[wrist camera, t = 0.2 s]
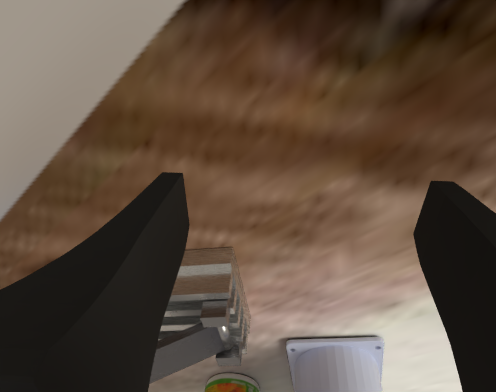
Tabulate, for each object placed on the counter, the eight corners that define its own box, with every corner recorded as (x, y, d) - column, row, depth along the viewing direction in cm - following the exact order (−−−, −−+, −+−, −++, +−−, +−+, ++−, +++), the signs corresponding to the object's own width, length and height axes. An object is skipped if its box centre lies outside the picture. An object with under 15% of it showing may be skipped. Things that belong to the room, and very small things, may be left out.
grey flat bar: (220, 307, 26) (225, 317, 25) (232, 342, 28) (236, 352, 28) (51, 378, 24) (50, 392, 23) (79, 409, 26) (79, 422, 25)
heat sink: (232, 247, 27) (224, 304, 24) (250, 317, 32) (246, 374, 28) (60, 258, 29) (27, 313, 26) (101, 323, 34) (79, 377, 30)
